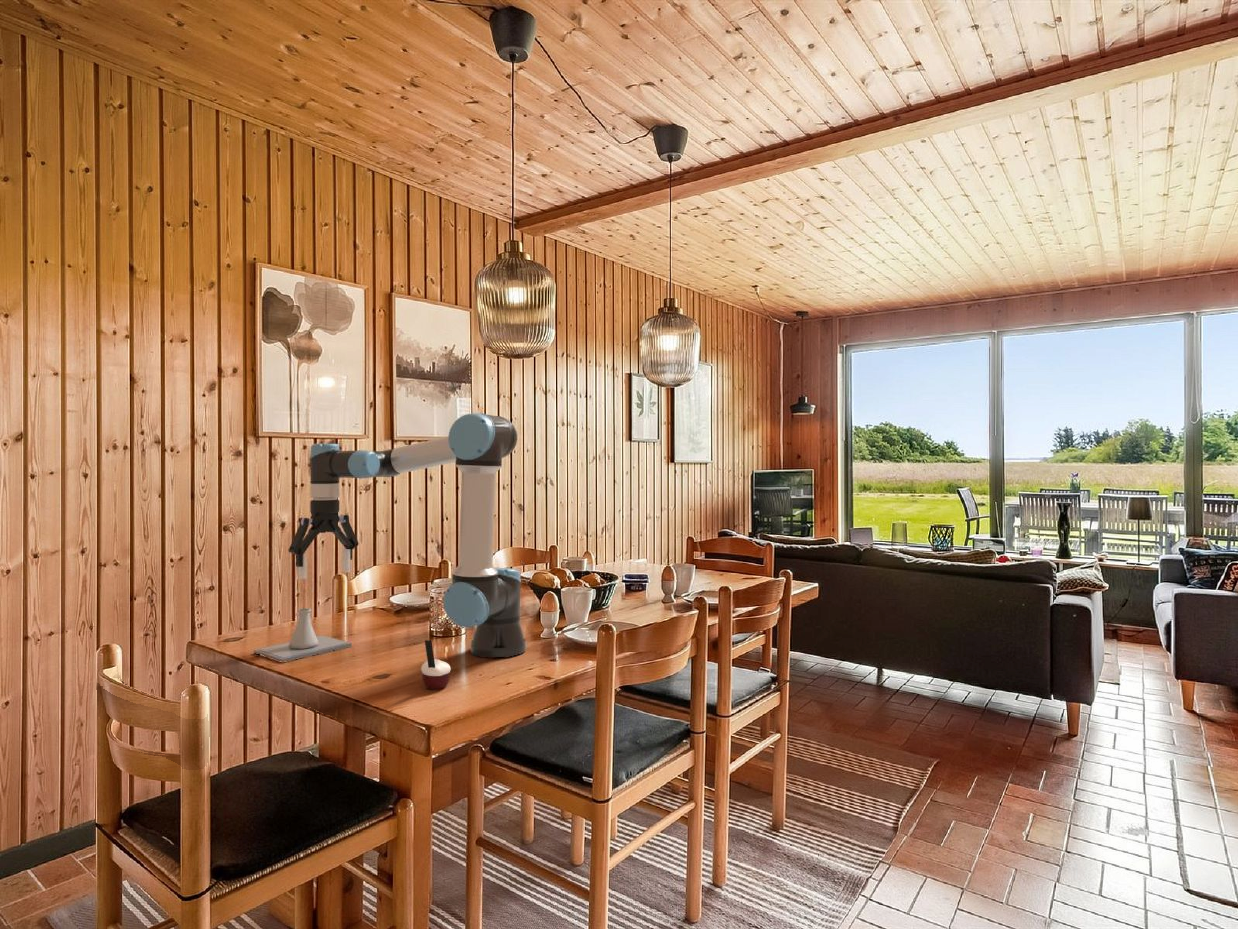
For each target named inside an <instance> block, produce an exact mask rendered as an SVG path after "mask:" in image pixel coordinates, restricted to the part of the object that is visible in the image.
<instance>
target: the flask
mask: <svg viewBox="0 0 1238 929" xmlns="http://www.w3.org/2000/svg"><path fill="white" fill-rule="evenodd" d="M311 612H312V609H311V608H300V609H298V610H297V613H298V620H297V624H296V626H295V629H294V631H293V633H292V636H291V639H290V641H289V642H290V643H289V647H291V648H297V649H304V648H310V647H314V646H316V645H318V644H319V642H318V640H317V637H316V636H317V635H316V632H315V630H314V628H313V625H312V621H311Z"/></svg>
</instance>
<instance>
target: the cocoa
mask: <svg viewBox="0 0 1238 929" xmlns="http://www.w3.org/2000/svg"><path fill="white" fill-rule="evenodd" d="M424 640H425V639H424ZM424 645H425V647H424V648H425V652H426V659H427V660H426V661H424V662H423V664H421V669H420V671H421V674H422V681H423V685H424V686H425V687H426V688H427V689H428V688H429V690H431V689H439V690H441V688H442V689H444V688H445V687H447V685H448V683H449V682H450V677H451V669H452V668H451V666H450V664H449V663H448V662H446V661H444V660H442V659H438V658H435V655H434V647H433V641H432V640H427V639H426V640H425V641H424Z"/></svg>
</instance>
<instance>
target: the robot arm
mask: <svg viewBox="0 0 1238 929" xmlns="http://www.w3.org/2000/svg"><path fill="white" fill-rule="evenodd" d="M517 443H518V432H517V430H516V427H515V425H514V424H513V423H512V422H511V421H510V420H509V419H507V417H506V418H505V417H503V416H499V415H491V414H486V413H481V412H480V413H479V412H477V413H466V414H464V415H461V416H460V417H459V418H457V419H456V420H455V421H454V422H453V424H452V425H451V426H450V429H449V432H448V436H443V437H440V438H435V439H430V440H426V441H422V442H417V443H411V444H408V445H403V446H399V447H395V448H391V449H385V450H376V451H375V450H365V449H364V450H363V449H359V450H340V445H339V444H337V443H313V444H312V445H311V446H310V453H309V454H310V455H309V468H310V469H309V470H310V473H309V474H310V481H309V487H310V489H309V492H310V499H311V500H310V504H309V508H310V509H309V512H310V518H309V517H300V519H299V523H298V524H299V526H298V528H297V530H296V532H295V534H294V537H293V539H292V541H291V543H290V546H289V548H288V550H287V551H288V552H289V553H290V554H294V555H295V566H296V567H298V568H297V569H298V572H297V574H298V576H297V578H298V579H299V580H300V579H301V580H307V578H308V565H307V564H308V563H307V562H308V556H307V554H305V553H306V551H307V550H308V549H309V547H310V545H311V544H312V543H313V542H314V540H315V539H316V537H317V536H318V535H319V534H323V533H324V534H325V533H332V534H333V535H334V536H335V538H336V539H337V540H338V541H339V542H340V544H342V546H343V547H344V548H342V550H341V571H342V572H343V573H351V561H352V560H353V550H355V548H356V547H358V546H359V544H360V543H359V540H358V538H357V536H356V534H355V532H354V530H353V527H352V525H351V523H350V517H349V515H348V514H340V515H339V513H340V500H339V499H338V498H340V479H341V478H347V479H348V478H349V479H360V480H362V479H370V478H392V477H396V476H397V477H398V476H399V475H401V474H404V473H408V472H414V471H419V470H424V469H429V468H434V467H438V466H443V465H448V464H452V463H455V467H456V468H458V470H459V471H460V472H461V477H460V478H461V482H460V483H461V486H460V509H459V510H460V513H459V515H460V516H459V543H458V544H459V546H458V565H457V566H456V567H455V568H454V569H453V570H452V571H451V572H452V575H451V585H449V587H448V588H447V589H446V590H445V592H444V594H443V598H442V599H443V600H442V606H443V610H444V612H445V614H446V616H447V618H449V619H450V620H451V622H452V623H454V624H456V625H457V626H459V627H462V628H472V627H475V626H476V627H475V630H474V632H473V637H472V640H471V642H470V647H469V648H470V653H471V655H474V656H476V657H480V658H486V657H505V658H511V657H510V656H512V657H515V656H514V655H516V656H518V655H517V654H520V655H522V654H524V653H525V652H526V651H525V650H526V649H527V647H526V646H527V642H526V639H525V638H524V634H523V629H522V626H521V585H522V580H521V573H520V571H519V570H518V569H516V568H511V567H510V568H509V567H494V565H493V560H494V559H493V558H494V557H493V555H494V549H493V548H494V529H495V528H494V527H495V526H494V525H495V501H496V499H495V497H496V496H495V495H496V474H497V472H498V471H499V470H500V469H502V465H503V464H502V463H503V458H506V457H508V456H509V455H510V454H511V453H512V452H513V451H514V450H515V449H516V446H517ZM339 523H340V525H341V527H340V526H339V525H338V524H339ZM310 525H311V527H309V526H310ZM342 530H343V531H342ZM307 531H308V532H307ZM344 533H345V534H344ZM524 651H525V652H524ZM523 652H524V653H523ZM521 653H522V654H521Z"/></svg>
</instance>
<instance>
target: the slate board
mask: <svg viewBox="0 0 1238 929" xmlns="http://www.w3.org/2000/svg"><path fill="white" fill-rule="evenodd" d="M316 637H317V640H318V642H319V644H318V645H316V646H314V647H310V648H304V649H297V648H291V647H289V643H290V641H288V642H285V643H280V644H279V643H278V644H275V645H271V646H267V647H262V648H257V649H253V654H254V653H256V654H262V655H264V656H266V657H270V658H273V659H275V660H277V661H282V662H284V661H290V662H292V661H291V660H294V661H296V660H295V659H298V660H300V659H299V658H302V657H307V658H310V657H309V656H311V657H313V656H312V655H315V656H317V655H316V654H319V655H322V654H327V653H330V652H329V651H331V652H334V651H333V650H335V651H339V650H343V648H344V649H348V648H350V647H351V648H352V642H349V641H346V640H342V639H339V638H336V637H335V638H334V637H331V636H327V635H323V634H322V635H316ZM347 647H348V648H347ZM326 652H327V653H326ZM256 654H255V655H256ZM302 659H303V658H302ZM277 661H276V662H277Z"/></svg>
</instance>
